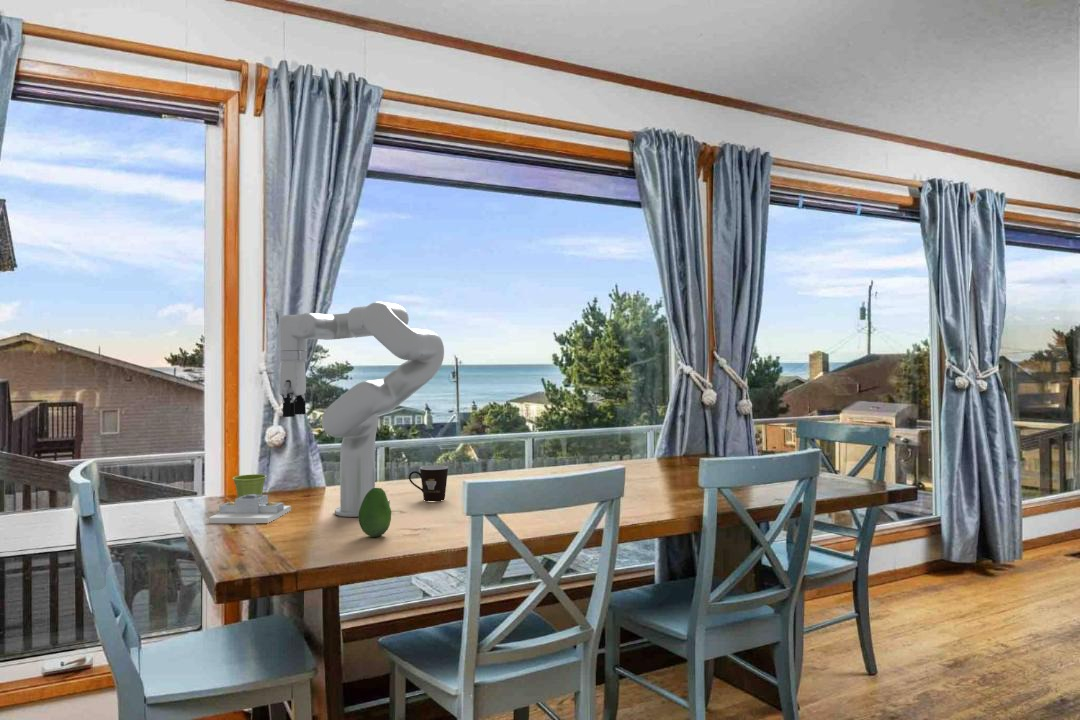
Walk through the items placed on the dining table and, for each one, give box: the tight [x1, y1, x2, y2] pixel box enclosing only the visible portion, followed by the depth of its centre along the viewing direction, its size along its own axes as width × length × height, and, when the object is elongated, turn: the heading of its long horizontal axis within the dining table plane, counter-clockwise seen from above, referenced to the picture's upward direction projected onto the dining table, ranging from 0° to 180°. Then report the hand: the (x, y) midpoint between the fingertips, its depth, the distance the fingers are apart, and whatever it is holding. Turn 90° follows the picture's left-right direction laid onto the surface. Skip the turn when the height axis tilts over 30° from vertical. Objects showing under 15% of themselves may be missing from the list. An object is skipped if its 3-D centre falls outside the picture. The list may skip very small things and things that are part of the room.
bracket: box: [218, 494, 285, 514], centre depth 202 cm, size 16×6×4 cm, turn 88°
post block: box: [208, 494, 292, 524], centre depth 202 cm, size 16×16×6 cm
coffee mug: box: [408, 465, 449, 502], centre depth 227 cm, size 12×9×10 cm
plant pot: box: [232, 473, 267, 498], centre depth 217 cm, size 9×9×9 cm
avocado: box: [358, 487, 392, 538], centre depth 180 cm, size 8×8×12 cm
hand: (294, 415), depth 214 cm, fingers open, 9 cm apart
